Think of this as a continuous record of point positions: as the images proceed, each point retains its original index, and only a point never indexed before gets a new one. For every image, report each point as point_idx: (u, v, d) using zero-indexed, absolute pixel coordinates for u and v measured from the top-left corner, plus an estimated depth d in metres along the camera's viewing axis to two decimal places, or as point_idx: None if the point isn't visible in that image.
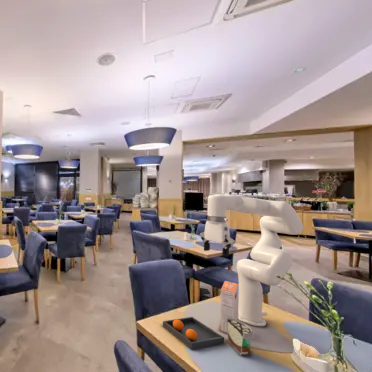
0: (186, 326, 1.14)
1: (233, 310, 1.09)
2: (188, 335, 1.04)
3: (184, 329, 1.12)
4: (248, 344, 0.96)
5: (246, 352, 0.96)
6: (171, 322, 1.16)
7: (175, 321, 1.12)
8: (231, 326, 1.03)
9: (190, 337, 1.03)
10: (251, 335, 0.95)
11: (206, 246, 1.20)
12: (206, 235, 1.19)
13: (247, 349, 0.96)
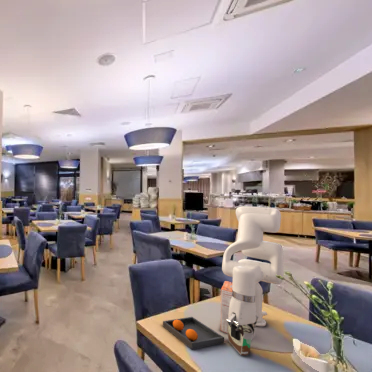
0: (186, 326, 1.14)
1: None
2: (188, 335, 1.04)
3: (184, 329, 1.12)
4: (248, 344, 0.96)
5: (246, 352, 0.96)
6: (171, 322, 1.16)
7: (175, 321, 1.12)
8: None
9: (190, 337, 1.03)
10: (252, 335, 0.95)
11: None
12: (242, 320, 0.97)
13: (247, 349, 0.96)
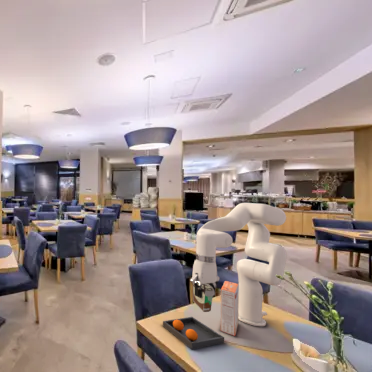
0: (186, 326, 1.14)
1: (233, 310, 1.09)
2: (188, 335, 1.04)
3: (184, 329, 1.12)
4: (210, 301, 1.05)
5: (208, 308, 1.05)
6: (171, 322, 1.16)
7: (175, 321, 1.12)
8: None
9: (190, 337, 1.03)
10: (212, 293, 1.04)
11: None
12: (203, 279, 1.06)
13: (209, 306, 1.05)
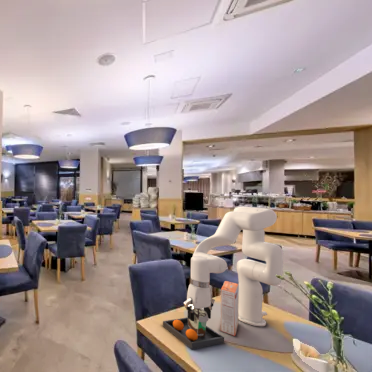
0: (186, 326, 1.14)
1: (233, 310, 1.09)
2: (188, 335, 1.04)
3: (184, 329, 1.12)
4: (203, 327, 1.06)
5: (202, 334, 1.06)
6: (171, 322, 1.16)
7: (175, 321, 1.12)
8: None
9: (190, 337, 1.03)
10: (206, 318, 1.06)
11: None
12: (197, 304, 1.07)
13: (202, 331, 1.06)
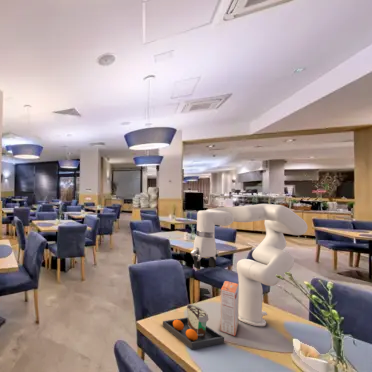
0: (186, 326, 1.14)
1: (233, 310, 1.09)
2: (188, 335, 1.04)
3: (184, 329, 1.12)
4: (203, 327, 1.06)
5: (202, 334, 1.06)
6: (171, 322, 1.16)
7: (175, 321, 1.12)
8: (190, 311, 1.13)
9: (190, 337, 1.03)
10: (206, 318, 1.06)
11: None
12: (203, 253, 1.17)
13: (202, 331, 1.06)
